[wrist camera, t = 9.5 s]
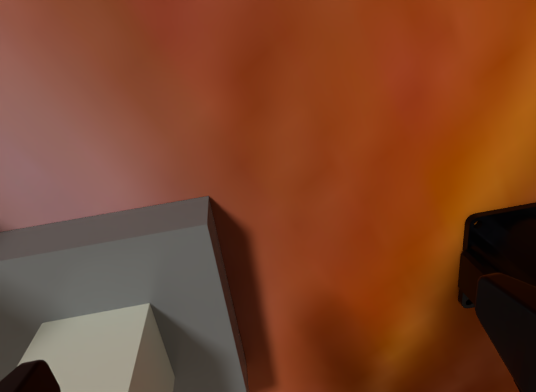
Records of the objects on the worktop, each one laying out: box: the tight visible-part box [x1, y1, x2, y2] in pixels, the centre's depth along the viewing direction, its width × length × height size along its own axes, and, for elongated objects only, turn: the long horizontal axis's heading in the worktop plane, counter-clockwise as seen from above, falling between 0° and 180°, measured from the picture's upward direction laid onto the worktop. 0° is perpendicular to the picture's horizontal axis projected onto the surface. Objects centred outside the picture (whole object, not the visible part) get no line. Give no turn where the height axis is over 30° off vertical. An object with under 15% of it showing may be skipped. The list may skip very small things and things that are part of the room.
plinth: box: [0, 196, 249, 392], centre depth 21 cm, size 12×12×3 cm
